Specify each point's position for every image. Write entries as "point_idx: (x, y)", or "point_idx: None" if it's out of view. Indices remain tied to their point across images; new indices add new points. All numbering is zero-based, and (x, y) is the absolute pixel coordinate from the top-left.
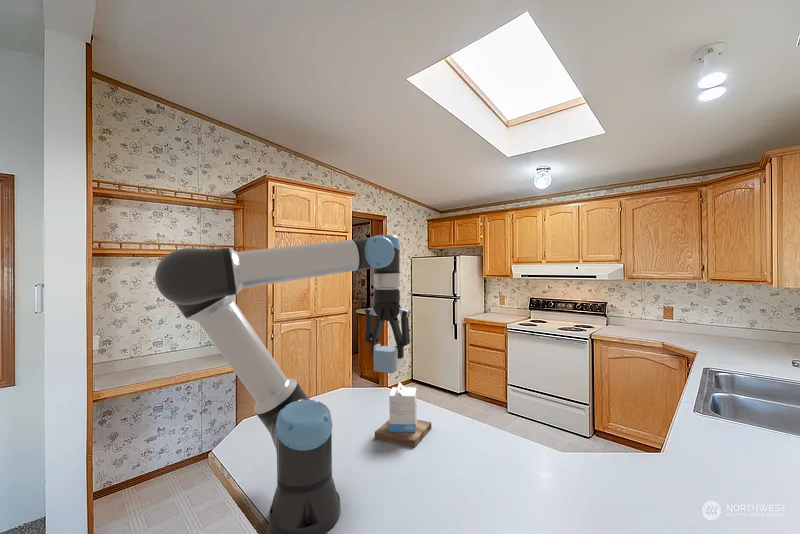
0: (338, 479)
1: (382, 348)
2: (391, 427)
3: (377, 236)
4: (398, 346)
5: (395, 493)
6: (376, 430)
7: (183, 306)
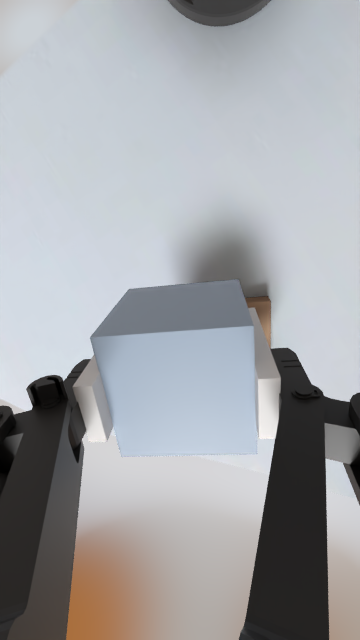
0: (244, 101)
1: (217, 393)
2: None
3: None
4: (38, 384)
5: (107, 134)
6: (270, 308)
7: None
